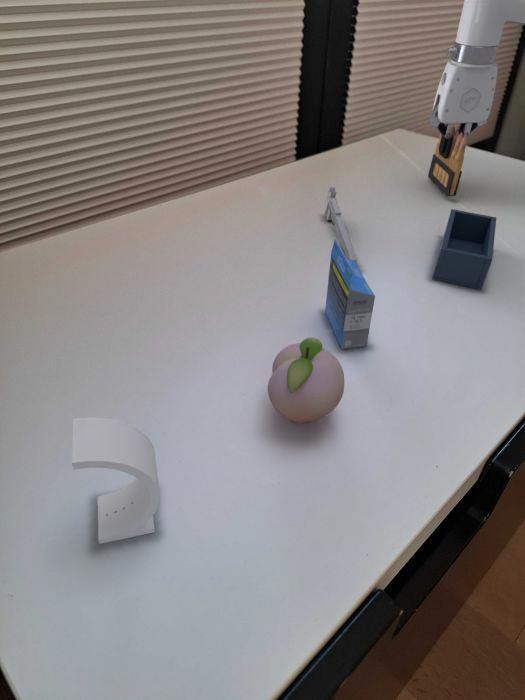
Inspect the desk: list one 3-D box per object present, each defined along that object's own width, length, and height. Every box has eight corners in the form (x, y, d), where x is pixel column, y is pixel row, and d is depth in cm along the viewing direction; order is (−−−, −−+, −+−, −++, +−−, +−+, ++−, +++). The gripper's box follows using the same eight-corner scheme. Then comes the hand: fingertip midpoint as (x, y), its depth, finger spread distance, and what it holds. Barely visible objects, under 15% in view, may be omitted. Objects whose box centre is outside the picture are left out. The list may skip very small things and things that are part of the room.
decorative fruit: (335, 450, 55) (348, 384, 49) (261, 438, 56) (264, 372, 50) (340, 390, 62) (352, 325, 56) (274, 380, 63) (278, 316, 57)
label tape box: (367, 347, 69) (384, 269, 61) (338, 350, 68) (351, 271, 60) (348, 309, 75) (361, 234, 67) (322, 311, 75) (331, 236, 67)
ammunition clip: (456, 196, 105) (472, 136, 97) (447, 196, 105) (463, 137, 97) (435, 176, 113) (448, 119, 105) (427, 176, 113) (440, 119, 105)
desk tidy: (486, 246, 91) (496, 217, 88) (480, 290, 80) (492, 259, 77) (443, 237, 93) (451, 208, 90) (432, 279, 82) (441, 248, 79)
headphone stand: (98, 501, 50) (73, 418, 42) (161, 489, 51) (147, 406, 43) (99, 544, 46) (71, 463, 38) (166, 530, 47) (152, 448, 40)
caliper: (323, 215, 99) (327, 184, 95) (329, 215, 99) (333, 184, 95) (351, 271, 83) (357, 237, 79) (357, 271, 83) (364, 236, 79)
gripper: (441, 60, 89) (419, 164, 101) (524, 58, 91) (493, 161, 103) (425, 51, 95) (405, 151, 107) (503, 49, 96) (476, 148, 108)
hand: (449, 155), depth 105 cm, fingers closed on ammunition clip, 1 cm apart
